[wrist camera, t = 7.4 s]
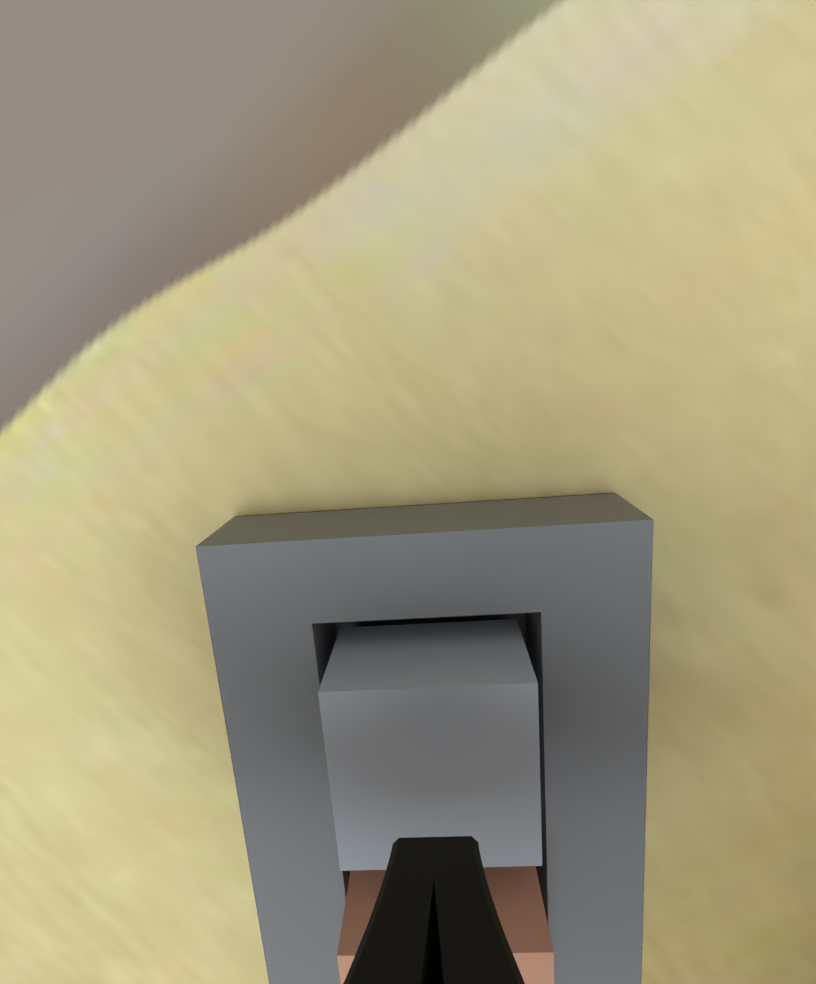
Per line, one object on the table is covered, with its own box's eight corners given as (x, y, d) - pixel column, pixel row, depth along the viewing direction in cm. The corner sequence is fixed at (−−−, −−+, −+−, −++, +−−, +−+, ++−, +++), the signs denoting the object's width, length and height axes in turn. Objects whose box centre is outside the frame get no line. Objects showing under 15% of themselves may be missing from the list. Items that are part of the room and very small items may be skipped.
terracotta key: (529, 836, 14) (553, 952, 11) (533, 972, 15) (557, 1110, 12) (355, 841, 14) (336, 955, 11) (370, 975, 15) (357, 1110, 12)
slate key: (516, 618, 14) (538, 683, 11) (521, 771, 15) (542, 865, 12) (340, 627, 14) (317, 692, 11) (357, 777, 15) (340, 870, 12)
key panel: (614, 493, 14) (653, 519, 12) (608, 1190, 20) (633, 1305, 18) (234, 516, 15) (195, 546, 12) (335, 1188, 21) (322, 1299, 18)
